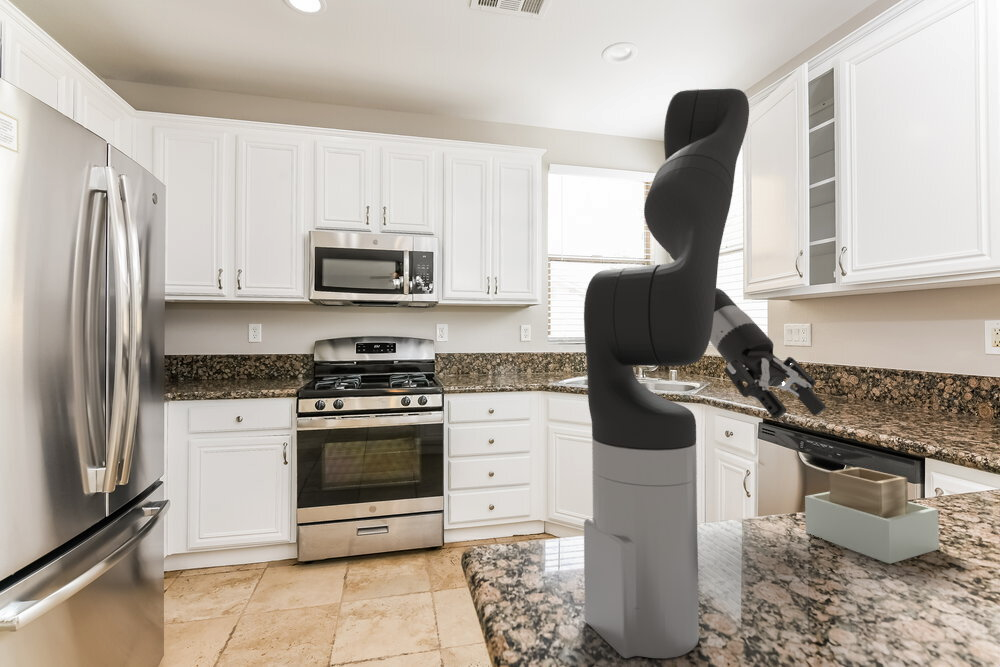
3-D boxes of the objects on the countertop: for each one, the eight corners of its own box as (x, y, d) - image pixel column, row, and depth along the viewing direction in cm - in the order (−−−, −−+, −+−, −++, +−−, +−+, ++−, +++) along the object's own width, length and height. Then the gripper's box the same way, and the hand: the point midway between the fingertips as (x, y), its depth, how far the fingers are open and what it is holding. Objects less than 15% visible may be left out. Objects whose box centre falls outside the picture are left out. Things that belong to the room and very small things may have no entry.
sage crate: (889, 563, 57) (888, 521, 57) (805, 532, 66) (805, 496, 67) (939, 549, 61) (938, 509, 61) (853, 521, 70) (852, 487, 70)
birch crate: (879, 548, 60) (878, 483, 60) (830, 531, 65) (829, 471, 66) (908, 540, 62) (907, 477, 62) (858, 524, 68) (857, 467, 68)
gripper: (717, 321, 78) (784, 400, 67) (779, 322, 84) (850, 395, 73) (693, 353, 83) (752, 432, 72) (753, 352, 88) (816, 425, 78)
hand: (801, 413), depth 72 cm, fingers open, 8 cm apart
